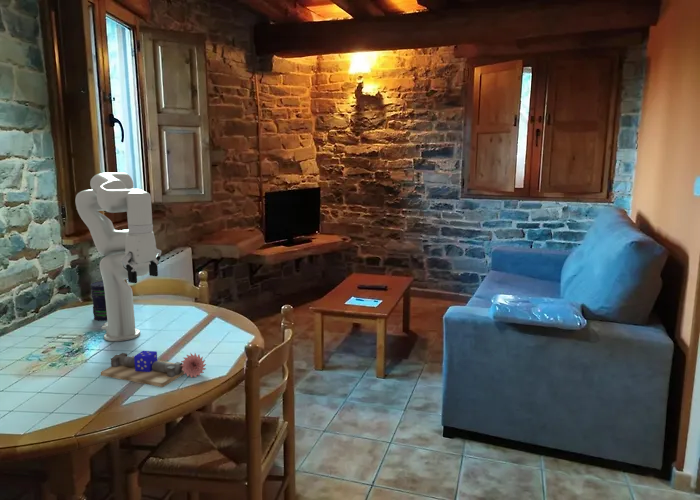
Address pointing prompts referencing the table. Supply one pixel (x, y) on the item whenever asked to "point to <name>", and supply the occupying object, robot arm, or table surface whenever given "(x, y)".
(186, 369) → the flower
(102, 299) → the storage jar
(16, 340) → the table surface
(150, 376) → the shaft bed
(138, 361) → the die
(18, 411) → the table surface
